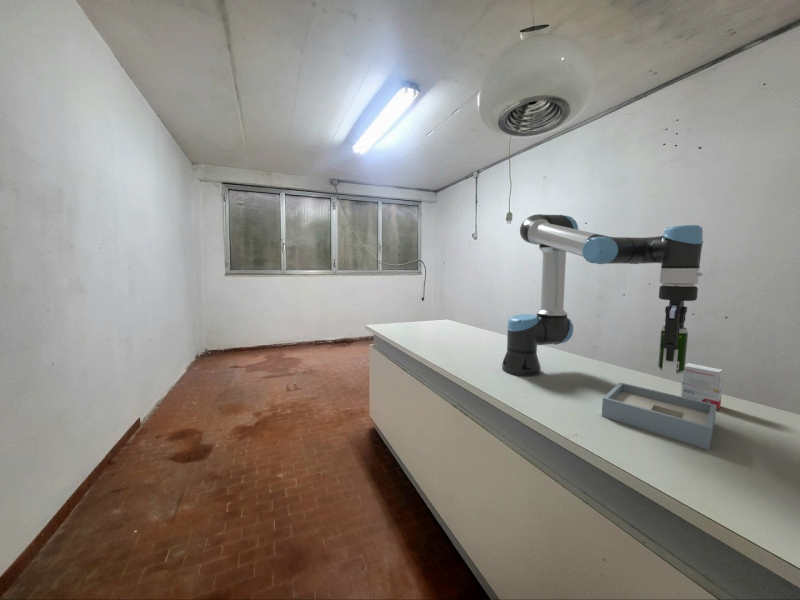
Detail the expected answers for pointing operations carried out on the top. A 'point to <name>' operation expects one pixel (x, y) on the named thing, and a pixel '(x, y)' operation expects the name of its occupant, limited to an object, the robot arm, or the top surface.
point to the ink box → (702, 384)
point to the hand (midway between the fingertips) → (670, 369)
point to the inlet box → (661, 413)
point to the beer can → (681, 349)
